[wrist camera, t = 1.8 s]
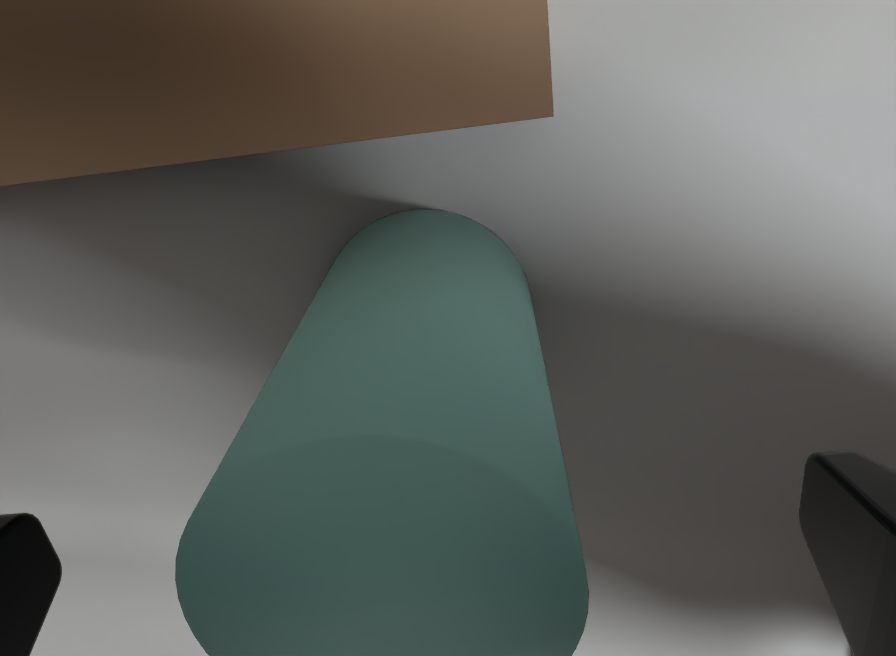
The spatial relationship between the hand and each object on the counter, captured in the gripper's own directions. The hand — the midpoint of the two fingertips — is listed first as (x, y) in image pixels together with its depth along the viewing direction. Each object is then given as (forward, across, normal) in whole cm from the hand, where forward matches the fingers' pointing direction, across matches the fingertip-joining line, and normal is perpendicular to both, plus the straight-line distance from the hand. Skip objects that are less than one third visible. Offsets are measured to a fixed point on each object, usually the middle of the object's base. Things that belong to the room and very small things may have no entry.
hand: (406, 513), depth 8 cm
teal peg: (+6, 0, 0) cm, 6 cm away
